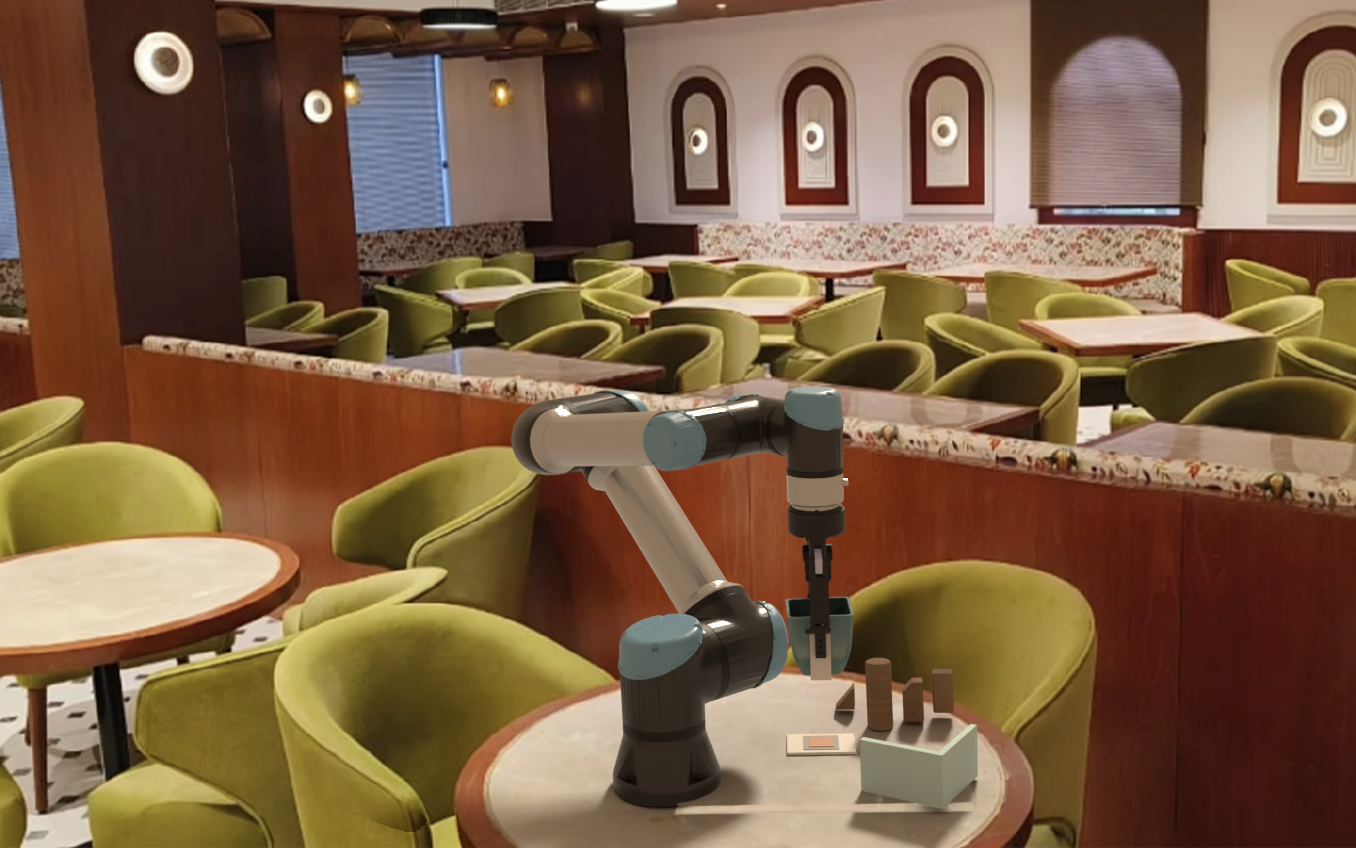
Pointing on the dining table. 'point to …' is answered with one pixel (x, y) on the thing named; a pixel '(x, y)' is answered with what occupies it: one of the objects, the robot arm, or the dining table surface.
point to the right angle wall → (919, 769)
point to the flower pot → (839, 632)
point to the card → (821, 744)
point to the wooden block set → (912, 695)
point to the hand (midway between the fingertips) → (820, 667)
